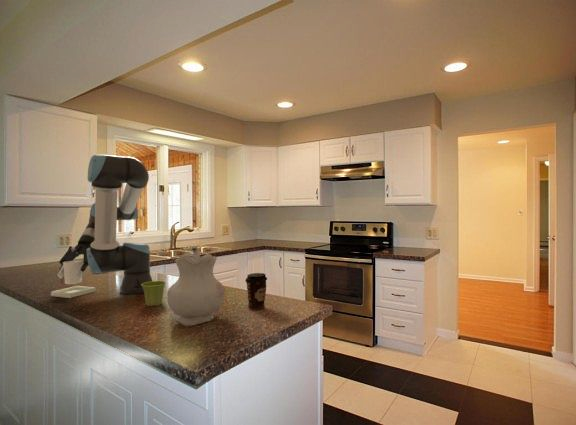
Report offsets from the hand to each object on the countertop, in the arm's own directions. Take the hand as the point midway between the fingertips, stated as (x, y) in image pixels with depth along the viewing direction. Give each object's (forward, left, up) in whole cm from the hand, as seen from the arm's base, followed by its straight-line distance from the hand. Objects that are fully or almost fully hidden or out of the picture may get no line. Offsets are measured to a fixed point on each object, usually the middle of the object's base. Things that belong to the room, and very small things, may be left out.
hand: (68, 276), depth 154 cm
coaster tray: (+1, -3, -9) cm, 9 cm away
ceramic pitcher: (-78, +10, -9) cm, 80 cm away
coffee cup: (-93, -8, -9) cm, 94 cm away
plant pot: (-50, 0, -9) cm, 51 cm away
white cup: (+1, -3, -4) cm, 5 cm away
